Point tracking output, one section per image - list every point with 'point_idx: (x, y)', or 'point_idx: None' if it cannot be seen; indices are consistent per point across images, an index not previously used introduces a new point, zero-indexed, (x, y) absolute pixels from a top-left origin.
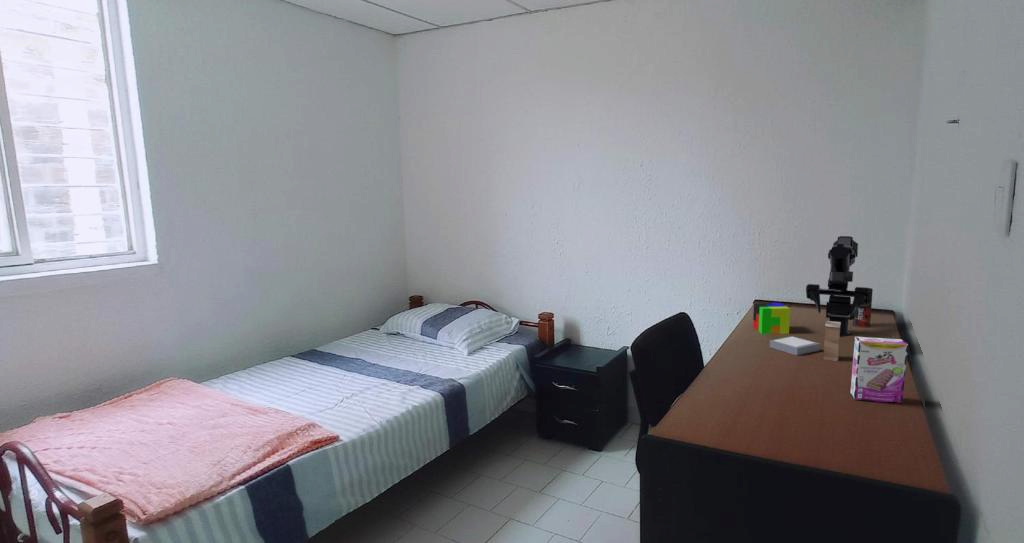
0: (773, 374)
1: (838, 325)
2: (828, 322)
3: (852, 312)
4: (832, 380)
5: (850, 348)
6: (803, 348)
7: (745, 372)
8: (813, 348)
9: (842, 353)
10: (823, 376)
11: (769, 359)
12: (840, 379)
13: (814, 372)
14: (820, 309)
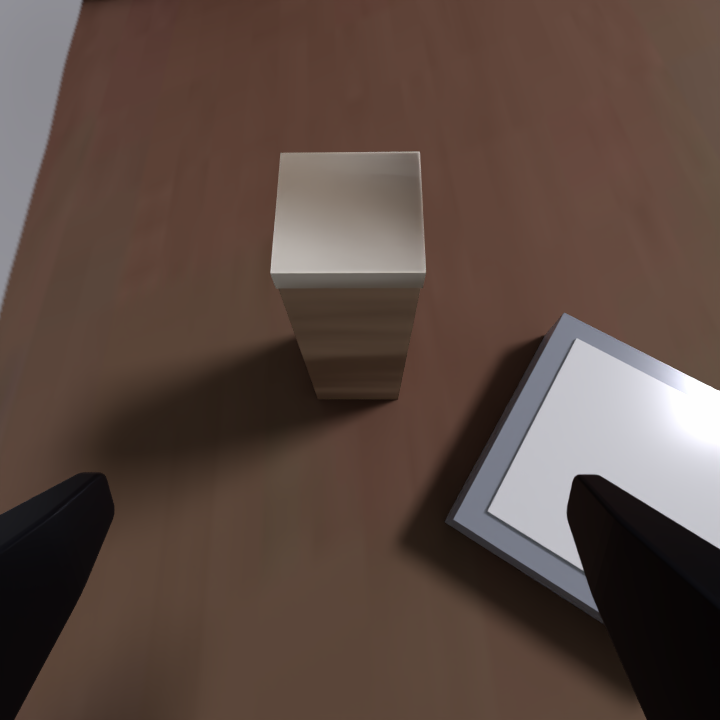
0: (555, 31)
1: (295, 155)
2: (395, 212)
3: (54, 486)
4: (333, 59)
5: (234, 715)
6: (533, 367)
7: (659, 11)
8: (480, 460)
9: (294, 520)
10: (370, 85)
11: (649, 203)
12: (304, 80)
13: (410, 114)
14: (597, 538)
